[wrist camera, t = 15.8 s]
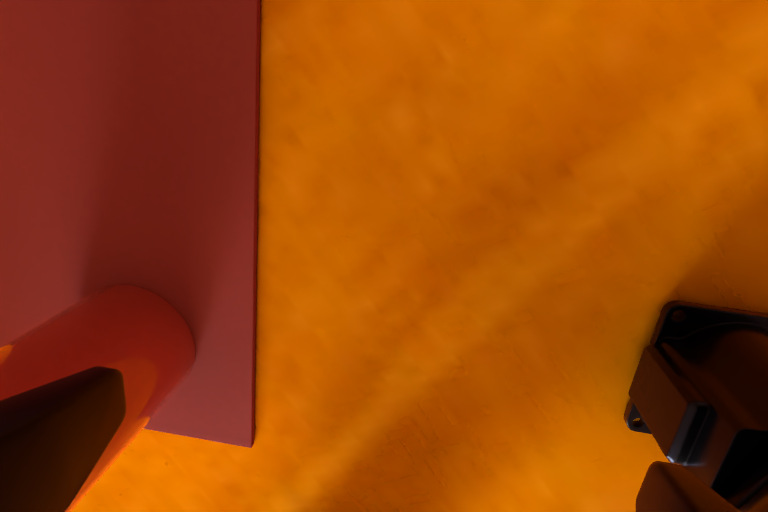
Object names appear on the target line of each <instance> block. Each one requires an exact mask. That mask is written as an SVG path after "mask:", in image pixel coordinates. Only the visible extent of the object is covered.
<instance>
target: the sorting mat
mask: <svg viewBox="0 0 768 512" xmlns="http://www.w3.org/2000/svg"><path fill="white" fill-rule="evenodd" d="M259 66H260V0H0V347H2V346H4V345H5V344H7V343H9V342H10V341H12V340H14V339H15V338H17V337H19V336H20V335H22V334H24V333H25V332H27V331H29V330H30V329H32V328H34V327H36V326H37V325H39V324H41V323H42V322H44V321H46V320H47V319H49V318H51V317H52V316H54V315H56V314H57V313H59V312H61V311H62V310H64V309H66V308H67V307H69V306H71V305H72V304H74V303H76V302H77V301H79V300H81V299H83V298H84V297H86V296H88V295H89V294H91V293H93V292H94V291H96V290H98V289H100V288H103V287H106V286H110V285H119V284H124V285H133V286H137V287H141V288H144V289H147V290H149V291H151V292H153V293H155V294H157V295H159V296H160V297H162V298H163V299H165V300H166V301H167V302H169V303H170V304H171V305H172V306H173V307H174V308H175V309H176V310H177V311H178V312H179V313H180V314H181V316H182V317H183V319H184V320H185V321H186V323H187V325H188V327H189V329H190V331H191V334H192V336H193V340H194V344H195V361H194V366H193V368H192V371H191V373H190V375H189V376H188V378H187V379H186V380H185V381H184V382H183V384H182V385H181V386H180V387H179V388H178V389H177V390H176V392H175V393H174V394H173V395H172V396H171V397H170V398H169V400H168V401H167V402H166V403H165V404H164V405H163V407H162V408H161V409H160V410H159V411H158V412H157V413H156V415H155V416H154V417H153V418H152V419H151V420H150V421H149V423H148V424H147V425H146V426H145V427H144V429H150V430H155V431H161V432H166V433H172V434H177V435H183V436H188V437H194V438H199V439H205V440H211V441H216V442H222V443H227V444H233V445H238V446H244V447H249V448H252V446H253V444H254V411H255V342H256V273H257V204H258V135H259Z"/></svg>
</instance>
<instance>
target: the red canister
mask: <svg viewBox="0 0 768 512" xmlns="http://www.w3.org/2000/svg"><path fill="white" fill-rule="evenodd" d="M194 361H195V344H194V340H193V336H192V334H191V331H190V329H189V327H188V325H187V323H186V321H185V320H184V319H183V317H182V316H181V314H180V313H179V312H178V311H177V310H176V309H175V308H174V307H173V306H172V305H171V304H170V303H169V302H167V301H166V300H165V299H163V298H162V297H160V296H159V295H157V294H155V293H153V292H151V291H149V290H147V289H144V288H141V287H137V286H133V285H124V284H119V285H110V286H106V287H103V288H100V289H98V290H96V291H94V292H93V293H91V294H89V295H88V296H86V297H84V298H83V299H81V300H79V301H77V302H76V303H74V304H72V305H71V306H69V307H67V308H66V309H64V310H62V311H61V312H59V313H57V314H56V315H54V316H52V317H51V318H49V319H47V320H46V321H44V322H42V323H41V324H39V325H37V326H36V327H34V328H32V329H30V330H29V331H27V332H25V333H24V334H22V335H20V336H19V337H17V338H15V339H14V340H12V341H10V342H9V343H7V344H5V345H4V346H2V347H0V400H3V399H6V398H8V397H11V396H14V395H17V394H20V393H22V392H25V391H28V390H31V389H33V388H36V387H39V386H42V385H45V384H47V383H50V382H53V381H56V380H58V379H61V378H64V377H67V376H70V375H72V374H75V373H78V372H81V371H83V370H86V369H89V368H92V367H95V366H102V367H108V368H114V369H118V370H119V371H121V373H122V374H123V378H124V388H125V397H126V414H125V418H124V420H123V422H122V424H121V426H120V427H119V429H118V430H117V432H116V434H115V435H114V437H113V438H112V440H111V442H110V443H109V445H108V446H107V448H106V449H105V451H104V453H103V454H102V456H101V457H100V459H99V461H98V462H97V464H96V465H95V467H94V469H93V470H92V472H91V473H90V475H89V477H88V478H87V480H86V481H85V483H84V485H83V486H82V488H81V489H80V491H79V492H78V494H77V495H76V497H75V498H74V500H73V501H72V503H71V504H70V506H69V507H68V508H67V510H66V511H65V512H71V511H72V510H73V509H74V508H75V506H76V505H77V504H78V503H79V502H80V501H81V499H82V498H83V497H84V496H85V495H86V494H87V493H88V491H89V490H90V489H91V488H92V487H93V486H94V485H95V483H96V482H97V481H98V480H99V479H100V478H101V477H102V475H103V474H104V473H105V472H106V471H107V470H108V468H109V467H110V466H111V465H112V464H113V463H114V462H115V460H116V459H117V458H118V457H119V456H120V455H121V454H122V452H123V451H124V450H125V449H126V448H127V447H128V446H129V444H130V443H131V442H132V441H133V440H134V439H135V437H136V436H137V435H138V434H139V433H140V432H141V431H142V429H143V428H144V427H145V426H146V425H147V424H148V423H149V421H150V420H151V419H152V418H153V417H154V416H155V415H156V413H157V412H158V411H159V410H160V409H161V408H162V407H163V405H164V404H165V403H166V402H167V401H168V400H169V398H170V397H171V396H172V395H173V394H174V393H175V392H176V390H177V389H178V388H179V387H180V386H181V385H182V384H183V382H184V381H185V380H186V379H187V378H188V376H189V375H190V373H191V371H192V368H193V366H194Z"/></svg>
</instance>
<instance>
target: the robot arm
mask: <svg viewBox="0 0 768 512" xmlns="http://www.w3.org/2000/svg"><path fill="white" fill-rule="evenodd" d="M677 310H681V312H680V314H679V315H678V316H676V317H672V314H673V313H674V312H675V311H677ZM629 396H630V400H629V403H628V405H627V408H626V411H625V414H624V420H625V422H626V424H627V426H628V428H630V429H631V430H633V431H637V432H643V433H649V434H652V435H653V436H654V438H655V440H656V441H657V443H658V445H659V446H660V448H661V450H662V452H663V453H664V455H665V456H666V458H667V459H668V460H669V462H670V463H667V462H661V461H656V462H653V463H652V464H651V465H650V466H649V468H648V471H647V473H646V476H645V478H644V481H643V483H642V486H641V488H640V491H639V493H638V496H637V499H636V512H768V314H765V313H758V312H751V311H744V310H738V309H731V308H724V307H717V306H710V305H703V304H697V303H690V302H683V301H671V302H669V303H667V304H666V305H665V306H664V307H663V309H662V311H661V314H660V316H659V319H658V322H657V325H656V328H655V330H654V333H653V336H652V339H651V341H650V344H649V345H647V346H646V347H645V348H644V351H643V353H642V356H641V359H640V362H639V365H638V367H637V370H636V373H635V376H634V379H633V382H632V384H631V387H630V390H629ZM125 414H126V397H125V388H124V378H123V374H122V373H121V371H119V370H118V369H114V368H108V367H102V366H95V367H92V368H89V369H86V370H83V371H81V372H78V373H75V374H72V375H70V376H67V377H64V378H61V379H58V380H56V381H53V382H50V383H47V384H45V385H42V386H39V387H36V388H33V389H31V390H28V391H25V392H22V393H20V394H17V395H14V396H11V397H8V398H6V399H3V400H0V512H65V511H66V510H67V508H68V507H69V506H70V504H71V503H72V501H73V500H74V498H75V497H76V495H77V494H78V492H79V491H80V489H81V488H82V486H83V485H84V483H85V481H86V480H87V478H88V477H89V475H90V473H91V472H92V470H93V469H94V467H95V465H96V464H97V462H98V461H99V459H100V457H101V456H102V454H103V453H104V451H105V449H106V448H107V446H108V445H109V443H110V442H111V440H112V438H113V437H114V435H115V434H116V432H117V430H118V429H119V427H120V426H121V424H122V422H123V420H124V418H125ZM636 418H640V420H638V421H633V420H634V419H636ZM672 463H673V464H672ZM678 464H679V465H678Z"/></svg>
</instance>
